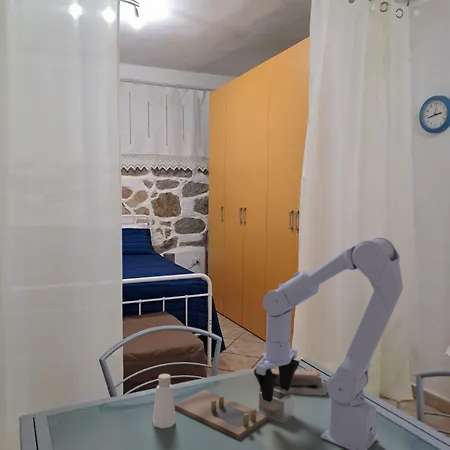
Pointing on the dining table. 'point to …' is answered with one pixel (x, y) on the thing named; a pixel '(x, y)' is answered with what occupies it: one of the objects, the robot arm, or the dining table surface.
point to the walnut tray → (221, 413)
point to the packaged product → (302, 382)
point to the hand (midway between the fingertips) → (276, 394)
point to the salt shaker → (164, 403)
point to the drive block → (278, 406)
